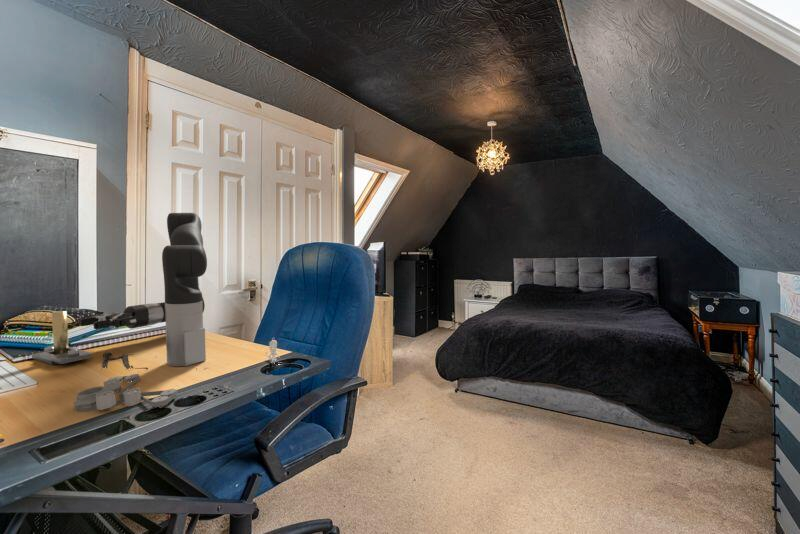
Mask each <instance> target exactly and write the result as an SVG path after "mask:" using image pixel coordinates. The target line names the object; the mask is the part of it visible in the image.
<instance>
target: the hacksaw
mask: <svg viewBox="0 0 800 534" xmlns="http://www.w3.org/2000/svg"><path fill="white" fill-rule="evenodd" d="M132 355H134V352H132V353H131V356H132ZM112 356H113V353H112V352H110V351H109V352H105V353H103V354H102V357H103V359H102V360H103V361H102V363H101V364H102V365H101V368H102V367H103V368H105V367H106V369H108V363H109V361H113V360H119V359H122V363H123V366H124V367H126V368H127V369H129V368H130V369H134V368H135V369H136V370H137V369H143V367H134V366H133V365H131V366H130V361H129V352H125V353H122V355H118V356H115V357H112ZM126 368H125V369H126ZM127 369H126V370H127ZM135 369H134V370H135ZM144 369H146V371H148V370H149V367H144ZM136 374H139V371H138V372H137V373H136Z"/></svg>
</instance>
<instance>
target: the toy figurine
mask: <svg viewBox="0 0 800 534" xmlns="http://www.w3.org/2000/svg"><path fill="white" fill-rule="evenodd" d="M268 346H269V348H268V349H269V350H270V352H271V353H270V354H269V353H268V352H267V351H266V352H265V355H267V357H268V360H269V361H270V360H271V363H272V362H273V363H274V361H276V362H277V357H278V358H280V355H279V354H278V353H277V347H278V342H277V340H276V338H275V337H272V338H271V341H269V342H268ZM276 356H277V357H276ZM278 365H279V366H280V365H281V364H278ZM278 365H277V366H278Z"/></svg>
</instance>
